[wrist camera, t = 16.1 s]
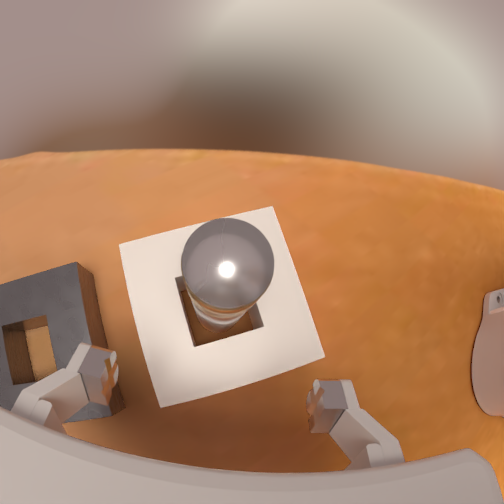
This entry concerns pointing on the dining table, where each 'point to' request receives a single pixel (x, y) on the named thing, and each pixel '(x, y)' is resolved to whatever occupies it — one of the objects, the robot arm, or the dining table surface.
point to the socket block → (50, 329)
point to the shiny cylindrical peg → (226, 271)
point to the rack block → (225, 350)
